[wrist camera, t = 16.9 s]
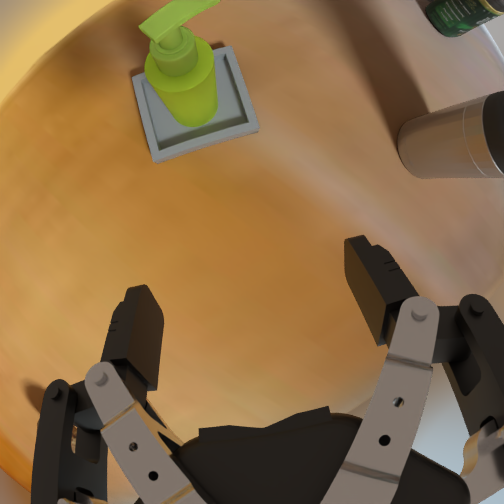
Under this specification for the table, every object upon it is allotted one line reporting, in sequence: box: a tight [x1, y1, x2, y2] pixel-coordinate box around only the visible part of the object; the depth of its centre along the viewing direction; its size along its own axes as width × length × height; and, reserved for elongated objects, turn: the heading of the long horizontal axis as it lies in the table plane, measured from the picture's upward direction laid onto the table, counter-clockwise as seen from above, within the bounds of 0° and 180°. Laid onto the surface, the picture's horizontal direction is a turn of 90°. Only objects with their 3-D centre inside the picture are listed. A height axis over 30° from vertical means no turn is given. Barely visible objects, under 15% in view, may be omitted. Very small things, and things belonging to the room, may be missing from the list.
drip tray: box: [132, 46, 260, 164], centre depth 32 cm, size 13×12×2 cm
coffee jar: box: [426, 0, 504, 37], centre depth 23 cm, size 10×8×19 cm
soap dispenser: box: [138, 0, 220, 127], centre depth 23 cm, size 6×7×20 cm
